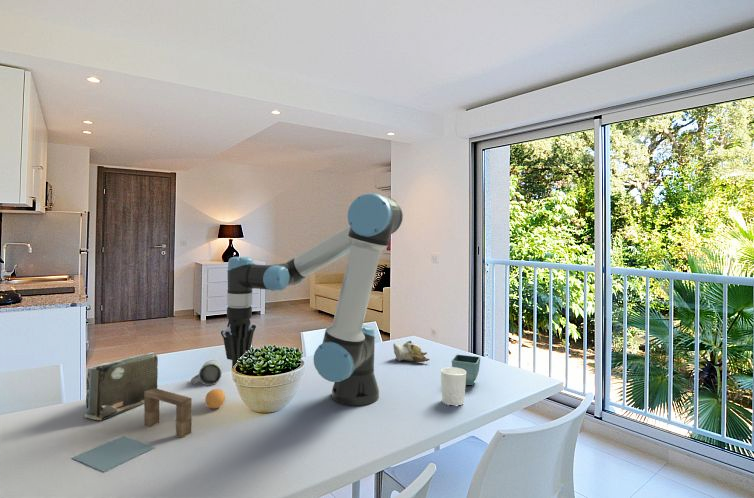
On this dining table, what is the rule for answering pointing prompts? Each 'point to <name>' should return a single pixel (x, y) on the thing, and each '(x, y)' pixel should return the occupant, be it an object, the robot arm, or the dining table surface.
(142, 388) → the radio
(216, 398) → the ball
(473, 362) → the flower pot
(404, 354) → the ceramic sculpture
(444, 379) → the white cup
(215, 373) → the ceramic mug
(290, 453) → the dining table surface
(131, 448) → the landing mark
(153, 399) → the bridge
